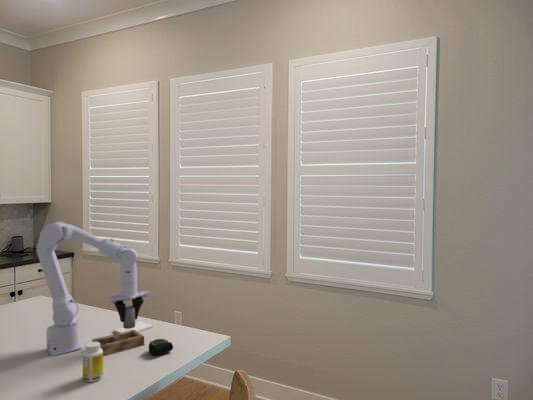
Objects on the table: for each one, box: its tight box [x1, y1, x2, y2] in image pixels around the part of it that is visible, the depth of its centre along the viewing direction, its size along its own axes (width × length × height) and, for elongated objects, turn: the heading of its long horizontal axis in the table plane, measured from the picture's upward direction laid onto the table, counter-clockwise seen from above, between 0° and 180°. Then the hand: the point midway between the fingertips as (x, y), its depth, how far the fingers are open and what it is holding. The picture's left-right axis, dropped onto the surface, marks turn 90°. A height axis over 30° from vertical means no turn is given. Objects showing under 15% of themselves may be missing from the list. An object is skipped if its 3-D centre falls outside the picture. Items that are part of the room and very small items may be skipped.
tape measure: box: [148, 338, 174, 356], centre depth 138 cm, size 7×7×4 cm
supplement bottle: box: [82, 341, 104, 383], centre depth 119 cm, size 6×6×10 cm
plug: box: [122, 305, 136, 329], centre depth 144 cm, size 4×4×7 cm
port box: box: [91, 330, 145, 357], centre depth 142 cm, size 15×9×3 cm, turn 131°
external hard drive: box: [112, 320, 154, 334], centre depth 159 cm, size 2×8×12 cm
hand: (128, 319), depth 144 cm, fingers closed on plug, 4 cm apart
